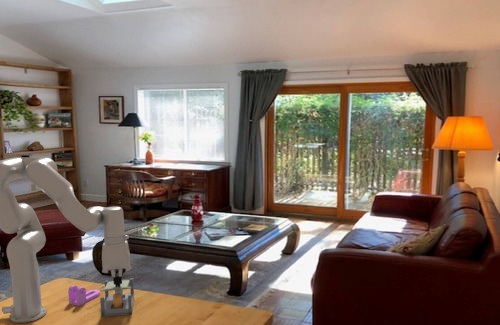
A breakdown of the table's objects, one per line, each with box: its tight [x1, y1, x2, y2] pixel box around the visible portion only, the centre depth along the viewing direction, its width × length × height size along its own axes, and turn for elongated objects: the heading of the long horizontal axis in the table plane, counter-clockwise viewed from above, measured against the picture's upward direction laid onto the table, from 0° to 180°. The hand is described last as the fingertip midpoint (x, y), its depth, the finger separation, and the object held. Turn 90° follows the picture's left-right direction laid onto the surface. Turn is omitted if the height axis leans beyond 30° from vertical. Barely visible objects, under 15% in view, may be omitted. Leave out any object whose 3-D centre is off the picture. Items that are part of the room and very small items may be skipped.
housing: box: [99, 277, 135, 318], centre depth 175 cm, size 11×15×8 cm
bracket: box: [67, 284, 101, 307], centre depth 183 cm, size 13×6×7 cm, turn 155°
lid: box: [99, 278, 131, 292], centre depth 174 cm, size 11×15×1 cm
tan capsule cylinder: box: [112, 293, 122, 309], centre depth 171 cm, size 3×3×6 cm
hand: (118, 285), depth 170 cm, fingers closed
